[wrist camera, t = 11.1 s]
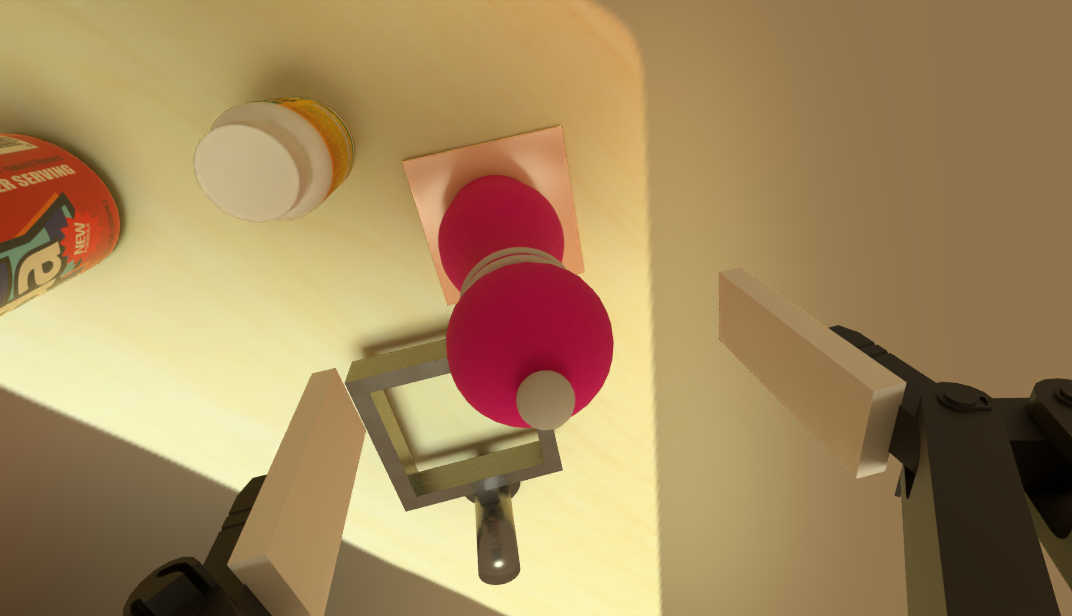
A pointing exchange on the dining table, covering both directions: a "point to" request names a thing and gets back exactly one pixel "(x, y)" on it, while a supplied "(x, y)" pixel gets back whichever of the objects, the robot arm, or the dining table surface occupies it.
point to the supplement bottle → (274, 158)
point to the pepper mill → (519, 308)
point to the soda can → (49, 218)
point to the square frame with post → (475, 478)
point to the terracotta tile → (517, 157)
